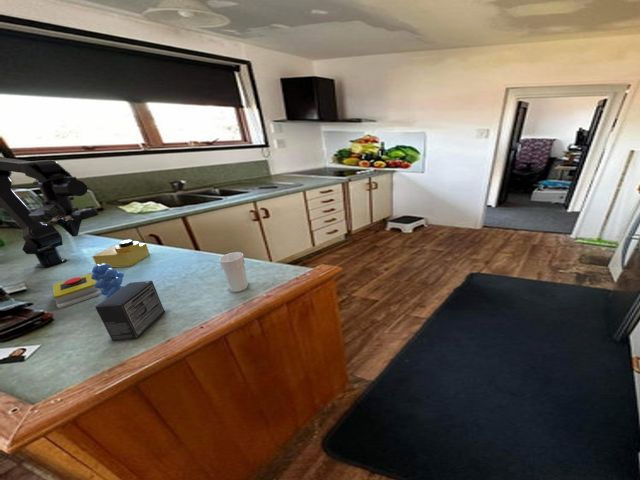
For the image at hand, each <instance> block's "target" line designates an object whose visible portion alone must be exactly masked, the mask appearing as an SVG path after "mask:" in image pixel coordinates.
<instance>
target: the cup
mask: <svg viewBox="0 0 640 480" xmlns="http://www.w3.org/2000/svg"><path fill="white" fill-rule="evenodd" d="M244 256H245V255H244V254H243V252H240V251H234V252H229V253H226V254H223V255H221V256H220V257H219V258H218V259H219V264H220V266H221V270H222V271H223V273H224V276H225V280H226V281H227V285H228V288H229V291H231V292H232V293H237V292H241V291H244V290H246V289H247V288H248V287H249V283H248V278H247V277H248V276H247V270H246V266H245V265H246V262H245V257H244Z"/></svg>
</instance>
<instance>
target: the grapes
mask: <svg viewBox="0 0 640 480" xmlns="http://www.w3.org/2000/svg"><path fill="white" fill-rule="evenodd" d="M91 274H92V276H91V279H94V280H97V282H96V284H95V287H96V288H99V289H100V292H101V294H100V295H102V296H106V297H107V298H108V297H110V296H111V295H113V294H114V293H116V292H117V291H118V290H120V289H121V288H123V287H124V285H122V284H123V281H124V276H125V273H123V272H120V271H119V270H118V269H115V268H112V267H111V265H108V264H100V265H96V264H95V265H94V266H93V268H92V270H91Z"/></svg>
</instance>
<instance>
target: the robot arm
mask: <svg viewBox="0 0 640 480" xmlns="http://www.w3.org/2000/svg"><path fill="white" fill-rule="evenodd" d="M12 172H13V173H20V174H24V175H25V176H26V177H28V178H31V179H34V181H33V182H32V185H33V186H38V187H39V189H40V192H41V194H42V196H43V197H44V200H42V203H41V204H42V206H40V207H39V208H37V209H36V210H34V211H31V210H30V209H29V208H28V206H26V204H25V203H24V202H23V201H22V199H20V198H19V197H18V195H17V194H16V193H15V192H14V191H13V190H12V183H13V181H12V180H11V179H10V177H11V176H12V174H13V173H12ZM88 190H89V189H88V185H87V184H86V183H85V182H84V181H82V180H79V179H78V178H77V177H76V176H72V174H71V172H69V171H67V170H66V169H65V168H64V167H63V166H62V165H60V164H59V163H58V162H57V161H55V160H53V159H46V160H45V159H44V160H34V161H33V160H32V161H31V160H24V159H16V158H10V157H9V158H8V157H5V156H0V206H1V208H2V209H3V210H4V211H5V212H6V213H7V214H8V216H10V218H12V220H13V221H14V222H15V223H16V224H17V225H18V226H19V227H20V228H21V229H22V240H24V244H23V247H22V251H23V253H25V255H35V257H36V259H37V260H38V263H37V264H36V267H40V268H43V269H46V268H49V267H52V266H56V265H58V264H61V263H65V262H67V261H68V259H67V258H63V257H62V256H61V254H60V252H59V249H58V248H57V247H60V246H61V247H62V246H63V244H64V243H63V236H62V234H61V233H60V231H59V230H57V229H56V227H55V226H54V225H53V224H55V225H59V227H61V228H63V229H64V230H65V232H67V233H68V234H69V235H70V236H71V237H78V236H79V231H80V228H81V224H82V221H84V220H87V219H90V218H93V217H97V216H99V213H98V210H97V209H96V208H91V207H89V208H82V209H79V207H76V206H74V204H73V202H72V201H74V200H75V198H74V197H83V196H85V195H86V194H87V193H88ZM46 223H49V224H46Z"/></svg>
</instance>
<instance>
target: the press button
mask: <svg viewBox="0 0 640 480" xmlns="http://www.w3.org/2000/svg"><path fill="white" fill-rule="evenodd" d="M133 241H134V240H133V239H125V240H122V241H120V242H118V245H120V247H127V246H130V245H133V244H134V243H133Z"/></svg>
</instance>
